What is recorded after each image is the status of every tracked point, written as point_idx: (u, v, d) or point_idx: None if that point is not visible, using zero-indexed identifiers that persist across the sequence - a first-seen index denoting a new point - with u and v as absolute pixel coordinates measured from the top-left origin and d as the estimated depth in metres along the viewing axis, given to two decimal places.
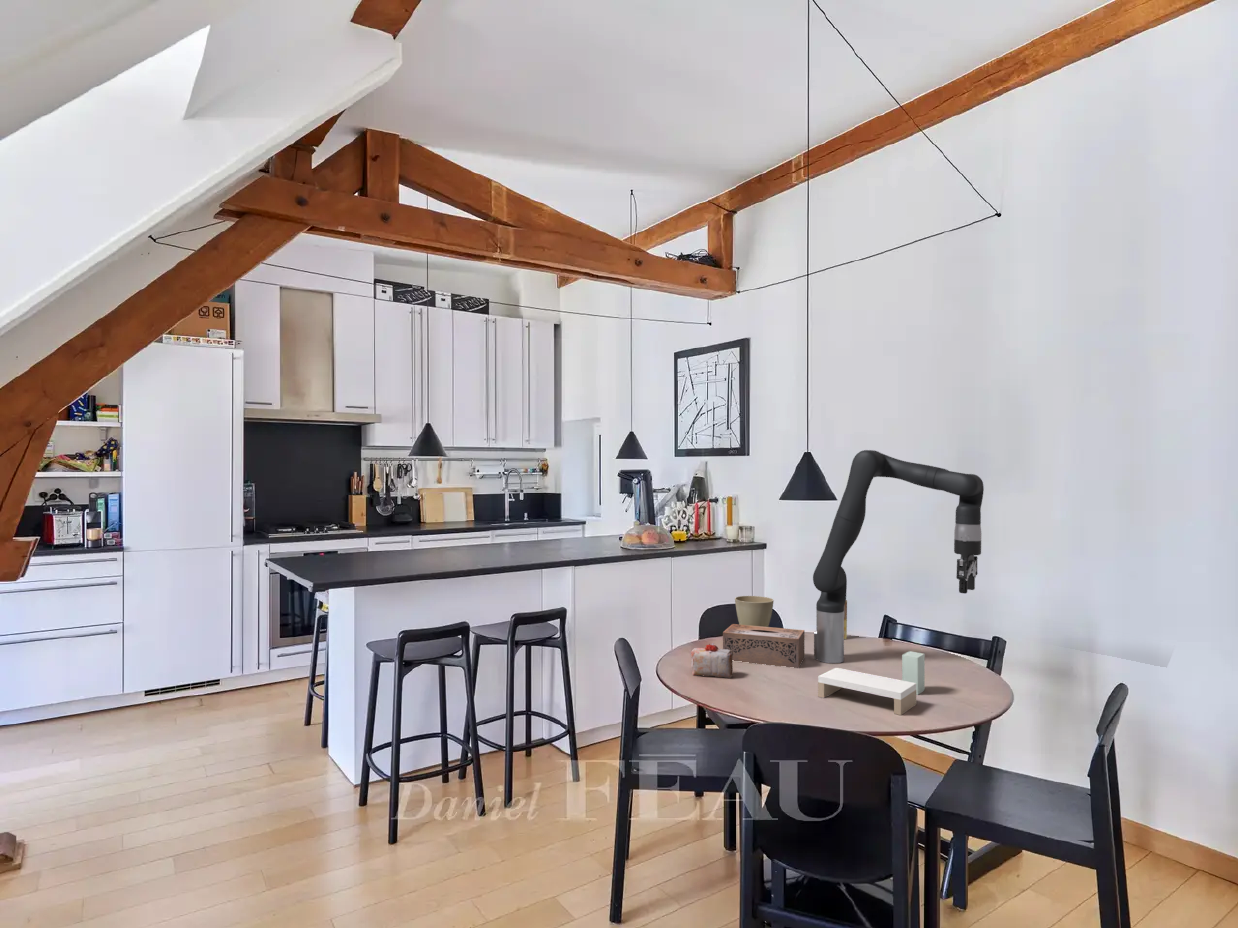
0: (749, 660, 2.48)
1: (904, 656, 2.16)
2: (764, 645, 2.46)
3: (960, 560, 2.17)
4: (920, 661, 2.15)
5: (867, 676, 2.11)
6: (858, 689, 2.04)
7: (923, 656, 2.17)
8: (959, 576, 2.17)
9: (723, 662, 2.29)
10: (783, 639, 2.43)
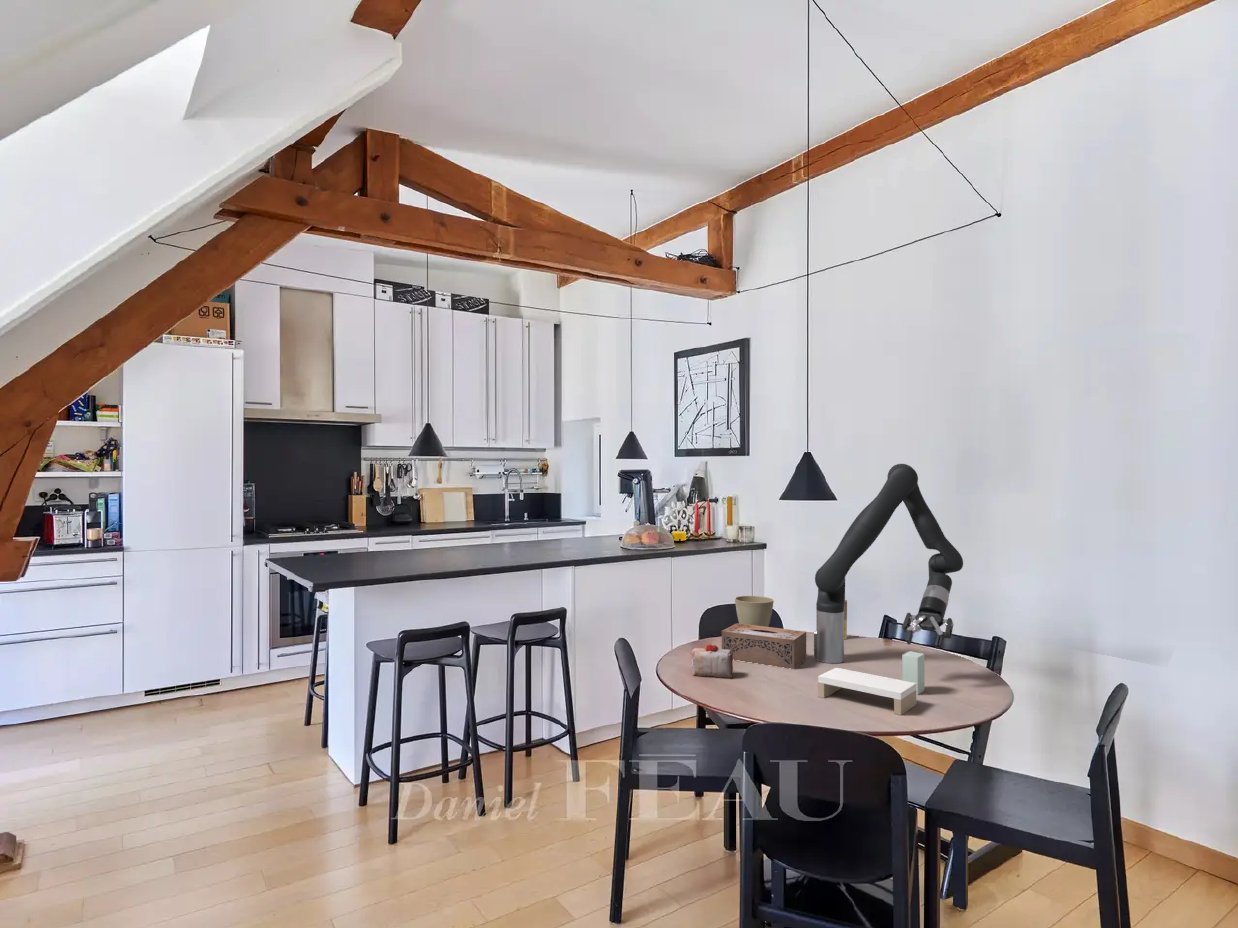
0: (747, 659, 2.49)
1: (904, 656, 2.16)
2: (761, 645, 2.46)
3: None
4: (920, 661, 2.15)
5: (867, 676, 2.11)
6: (858, 689, 2.04)
7: (923, 656, 2.17)
8: None
9: (723, 662, 2.29)
10: (779, 639, 2.43)
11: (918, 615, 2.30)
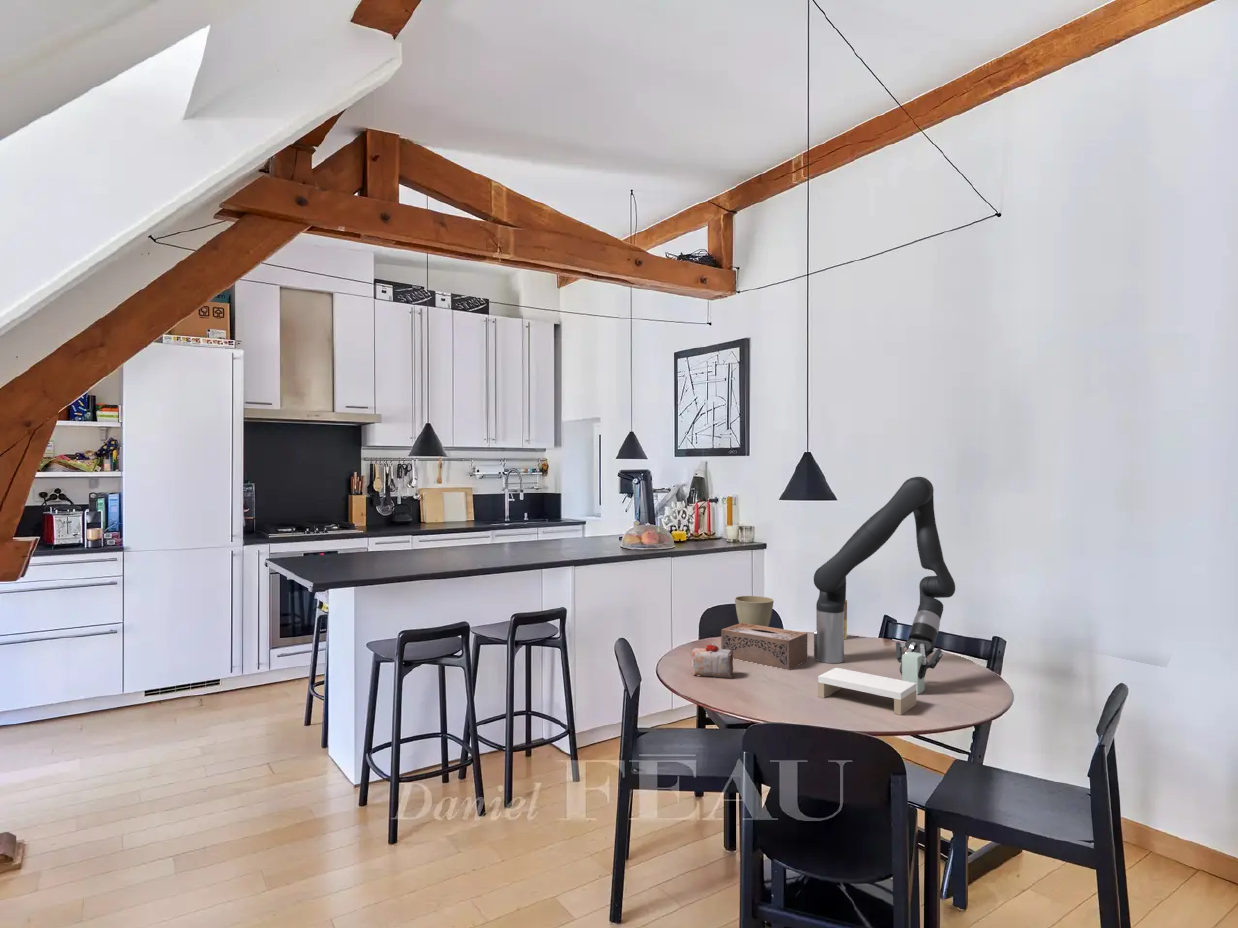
0: (744, 658, 2.50)
1: (904, 656, 2.16)
2: (758, 644, 2.46)
3: (941, 651, 2.16)
4: (920, 661, 2.15)
5: (867, 676, 2.11)
6: (858, 689, 2.04)
7: None
8: (933, 663, 2.15)
9: (724, 662, 2.29)
10: (775, 640, 2.42)
11: (908, 642, 2.23)
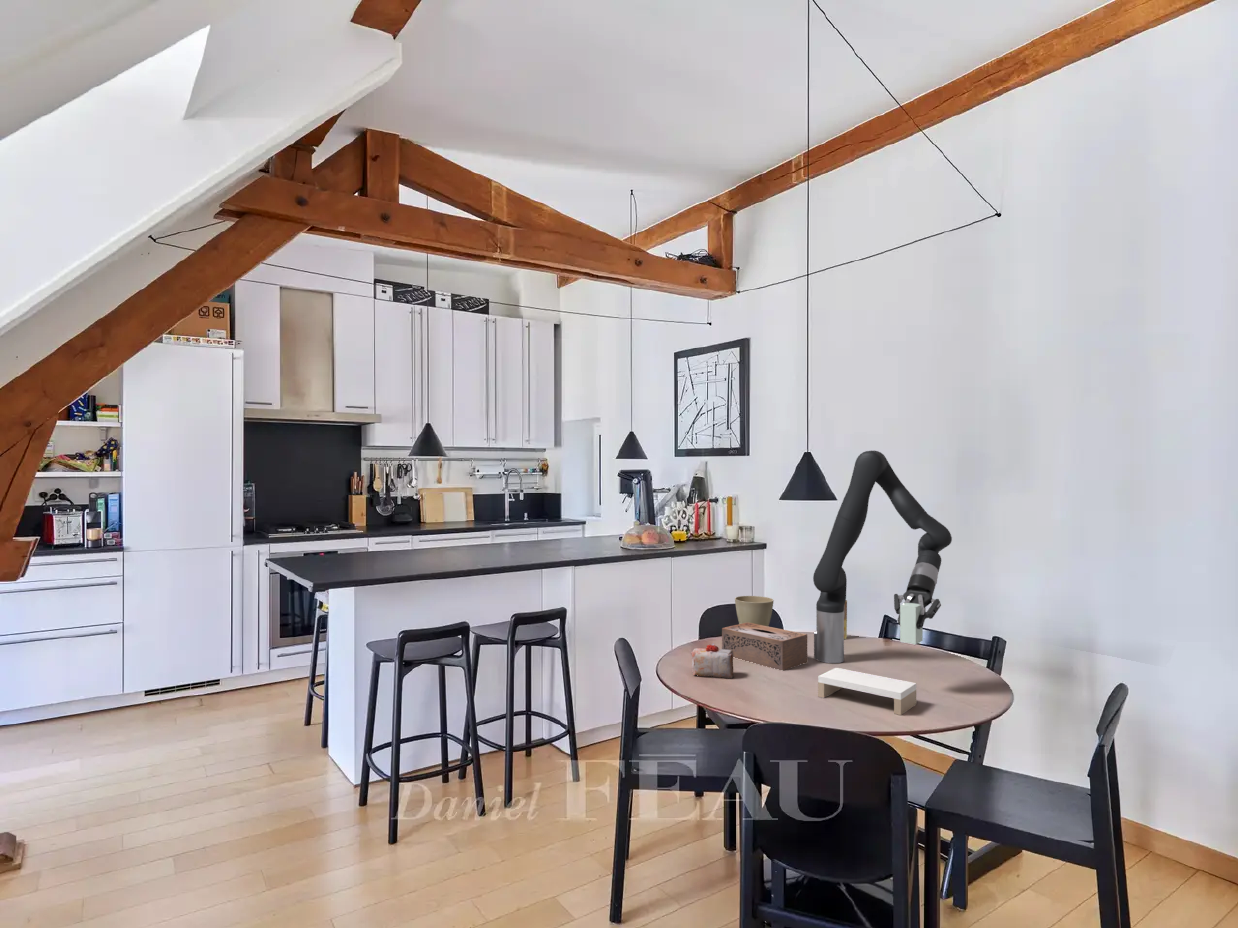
0: (742, 658, 2.51)
1: (902, 606, 2.15)
2: (754, 644, 2.47)
3: (939, 602, 2.16)
4: (918, 611, 2.15)
5: (867, 676, 2.11)
6: (858, 689, 2.04)
7: None
8: (931, 613, 2.14)
9: (724, 662, 2.29)
10: (770, 640, 2.42)
11: (906, 593, 2.22)
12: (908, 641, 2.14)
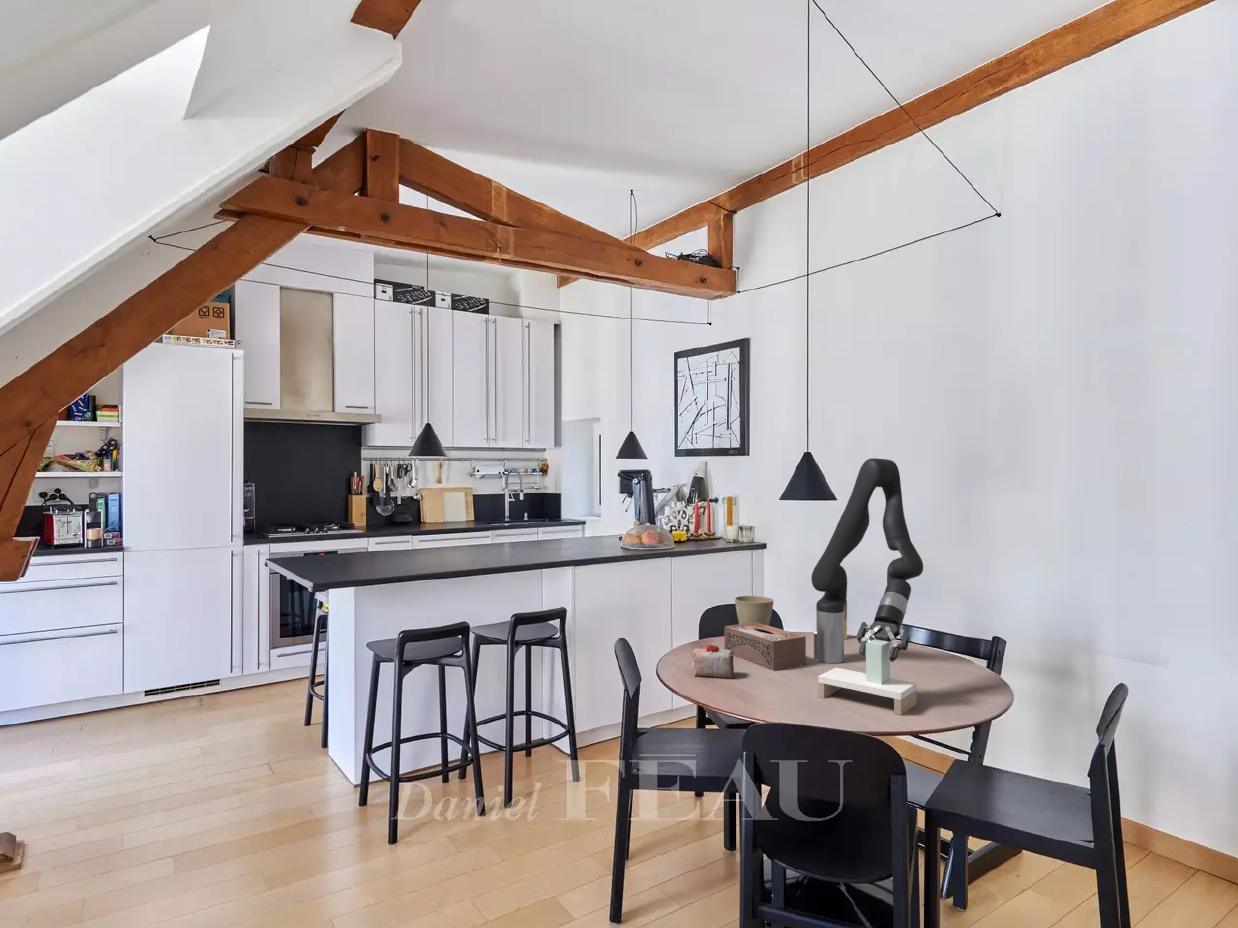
0: (741, 656, 2.52)
1: (868, 644, 2.06)
2: (751, 643, 2.48)
3: (908, 631, 2.07)
4: (884, 649, 2.05)
5: None
6: (858, 689, 2.04)
7: (888, 644, 2.07)
8: (905, 645, 2.04)
9: (725, 662, 2.29)
10: (763, 640, 2.42)
11: (873, 625, 2.13)
12: (874, 681, 2.05)
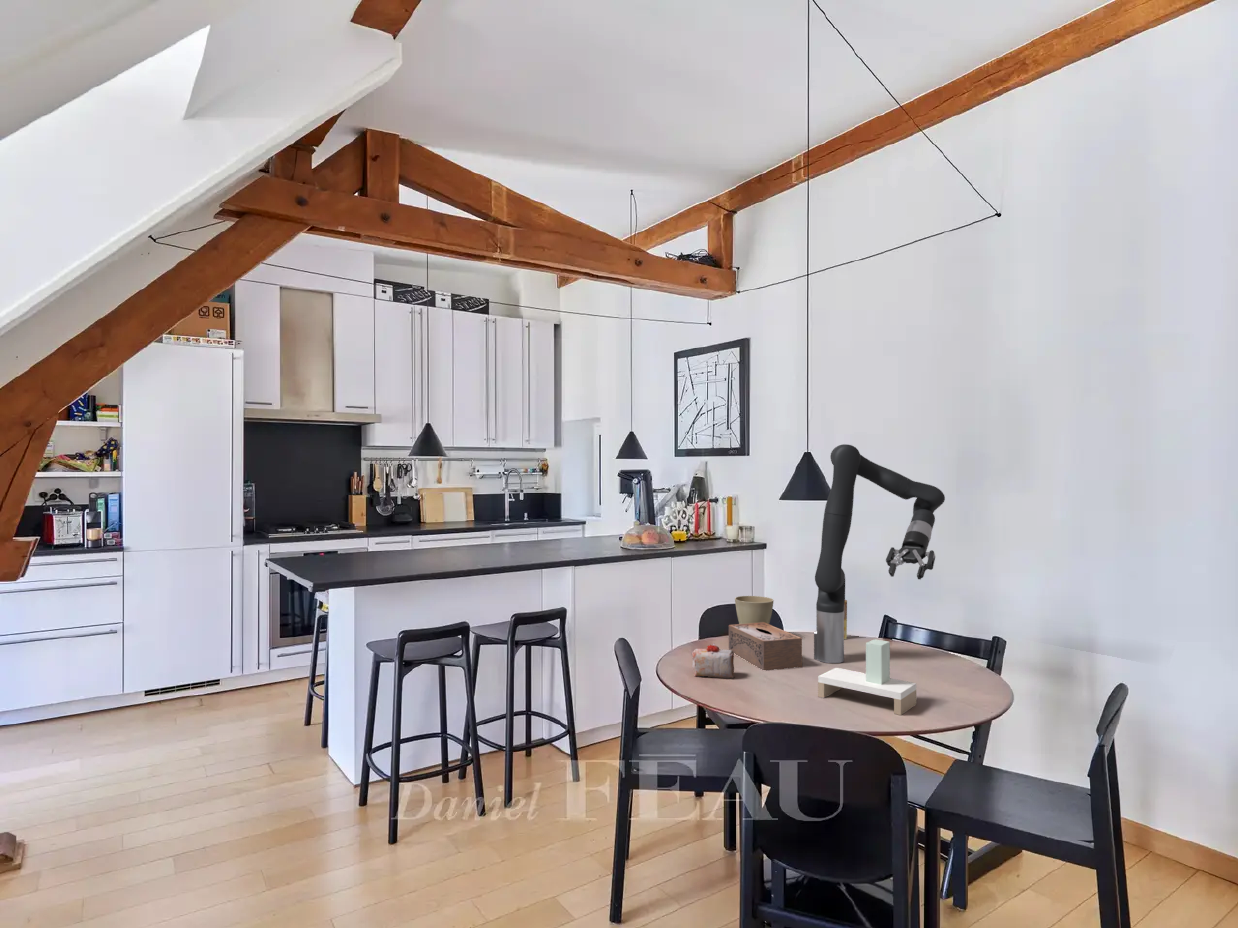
0: (740, 655, 2.54)
1: (868, 644, 2.06)
2: (747, 642, 2.49)
3: (934, 553, 2.29)
4: (884, 649, 2.05)
5: None
6: (858, 689, 2.04)
7: (888, 644, 2.07)
8: (931, 564, 2.26)
9: (725, 662, 2.29)
10: (756, 639, 2.43)
11: (901, 549, 2.35)
12: (874, 681, 2.05)
